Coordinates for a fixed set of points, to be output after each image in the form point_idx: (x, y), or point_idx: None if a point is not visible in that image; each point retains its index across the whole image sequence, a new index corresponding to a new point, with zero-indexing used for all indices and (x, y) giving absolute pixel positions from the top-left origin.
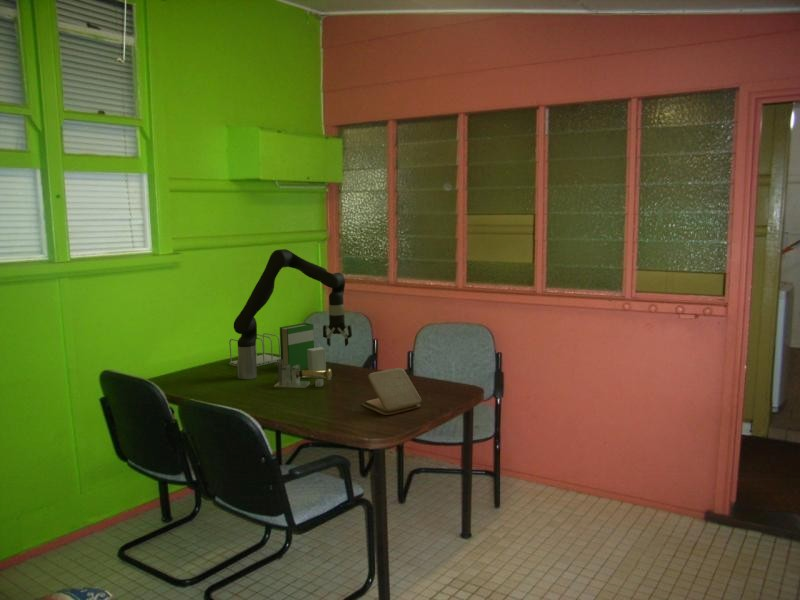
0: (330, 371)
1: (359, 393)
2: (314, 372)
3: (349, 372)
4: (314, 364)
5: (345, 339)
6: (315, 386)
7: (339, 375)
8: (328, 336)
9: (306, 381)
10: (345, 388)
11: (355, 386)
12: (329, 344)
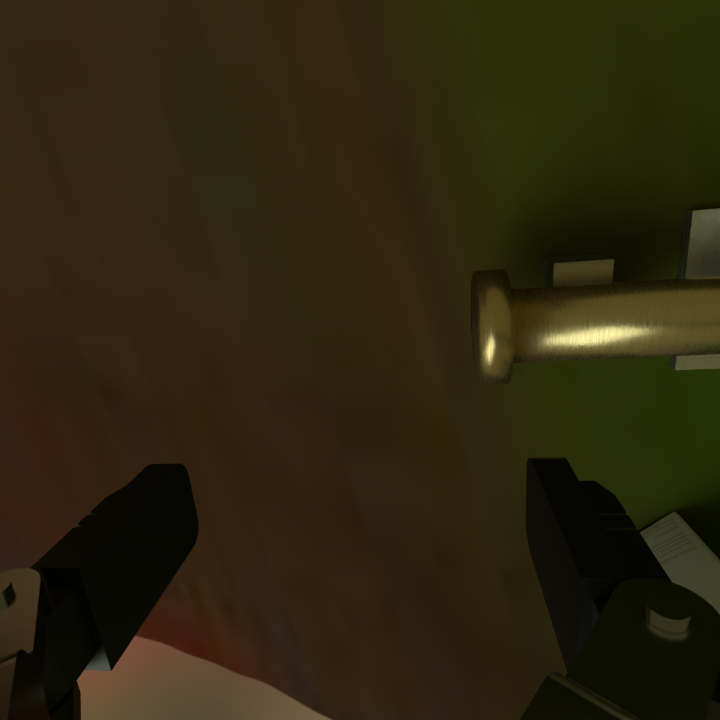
0: (478, 337)
1: (170, 120)
2: (657, 293)
3: (423, 644)
4: (716, 596)
5: (67, 558)
6: (595, 254)
7: (474, 576)
8: (652, 652)
9: (709, 365)
10: (326, 247)
11: (269, 314)
12: (540, 471)
